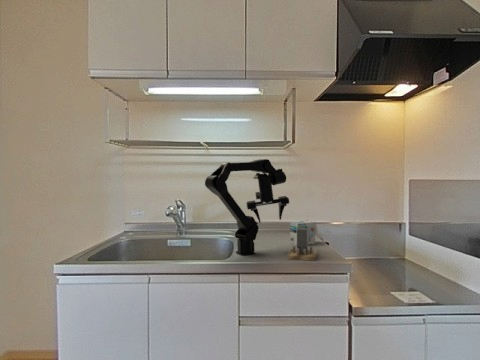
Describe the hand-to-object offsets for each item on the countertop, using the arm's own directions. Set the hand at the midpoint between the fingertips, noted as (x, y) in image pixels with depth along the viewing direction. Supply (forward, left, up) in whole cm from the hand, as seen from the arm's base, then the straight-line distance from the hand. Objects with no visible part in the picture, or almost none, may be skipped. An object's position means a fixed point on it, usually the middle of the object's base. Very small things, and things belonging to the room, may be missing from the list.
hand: (270, 221), depth 166 cm
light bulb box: (+21, +4, -13) cm, 25 cm away
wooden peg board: (+5, -18, -13) cm, 22 cm away
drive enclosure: (+5, -18, -11) cm, 22 cm away
